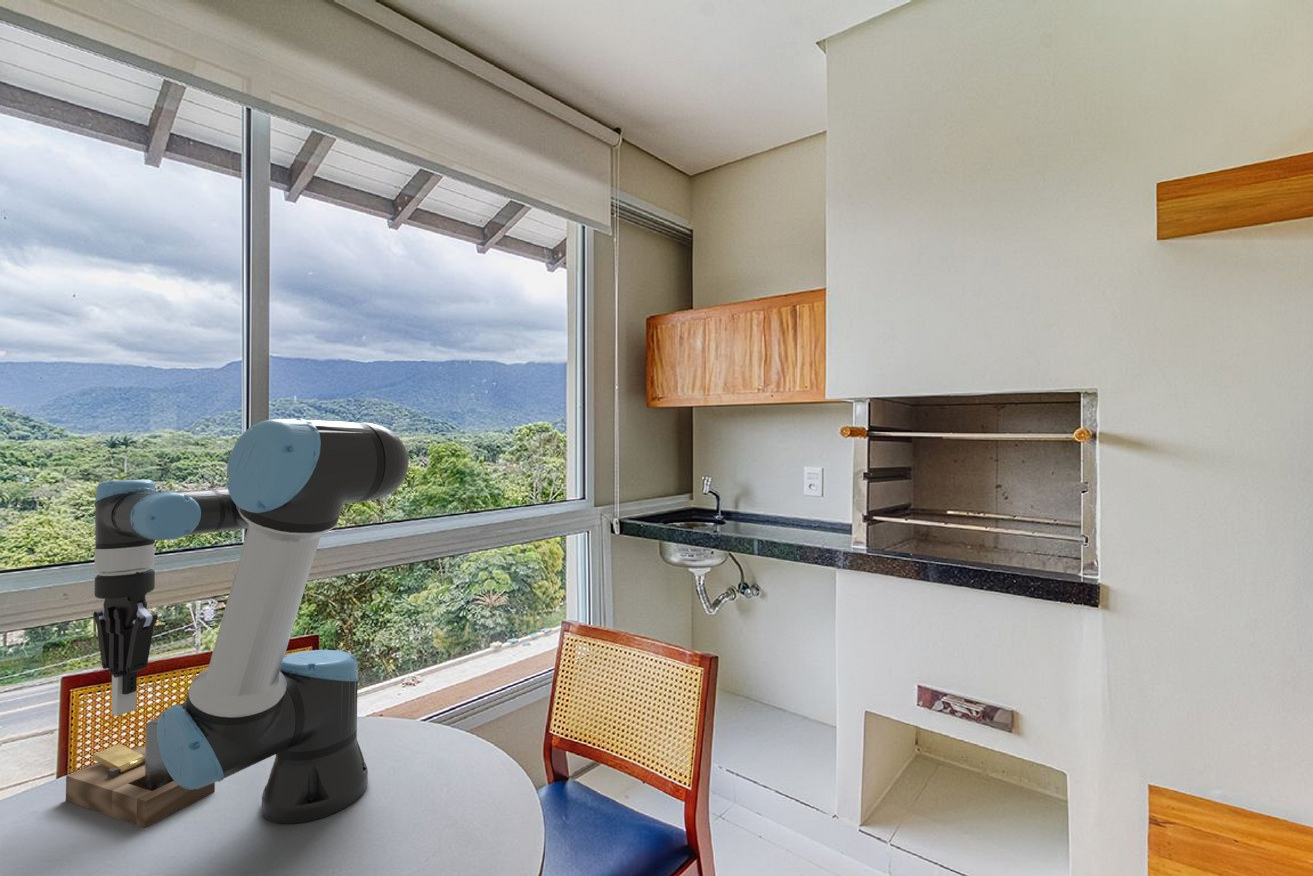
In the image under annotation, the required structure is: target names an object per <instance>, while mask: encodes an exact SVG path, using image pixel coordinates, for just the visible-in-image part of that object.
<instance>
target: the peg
mask: <svg viewBox="0 0 1313 876" xmlns="http://www.w3.org/2000/svg"><path fill="white" fill-rule="evenodd" d="M159 718H160V717H157V718H154V719H151V720H150V721H148V722H147V723H146V724H145V748H146V751H145V789H147V790H150V791H154V790H156V789H158V788H160V787H162V786H164V785H166V784H168V783H170V782H172V781H174V780H173V779H172V777H171V776H170V774H169V773H168V771H167V769H166V767H165V765H164V763H163V760H162V757H161V754H160V750H159V746H158V740H157V725H158V720H159Z"/></svg>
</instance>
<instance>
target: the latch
mask: <svg viewBox="0 0 1313 876" xmlns="http://www.w3.org/2000/svg"><path fill="white" fill-rule="evenodd" d="M131 749H132V748H129V747H128V746H125V745H123V744H121V743H118V744H115V745H113V746H111V747H108V748H106V749H103V750H100V751H98V752H95V753H93V761H95V762H96V763H100V764H102V765H104V766H106V767H108V768H110V769H111V768H118V769H119V770H118V773H119V774H120V773H122V772H125V771H127V770H129V769H131V768H134V767H136V766H138V765H141V764H143V763H145V756H143V755H141V754H139V753H137V752H135V751H133V750H131Z"/></svg>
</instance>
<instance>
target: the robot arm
mask: <svg viewBox="0 0 1313 876" xmlns="http://www.w3.org/2000/svg"><path fill="white" fill-rule="evenodd" d="M409 462H410V461H409V454H408V452H407V448H406V446H405V445H404V443H403V442H402V440H401V439H400V438H399V437H398V436H397V435H396V434H395V433H394V432H393V431H392V430H389V429H388V428H386V427H384V426H382V425H378V424H376V423H372V422H370V423H369V422H363V421H362V422H359V421H358V422H353V421H333V420H317V419H316V420H315V419H314V420H312V419H304V418H300V417H293V418H292V417H291V418H290V417H289V418H285V419H281V418H279V419H278V418H277V419H273V418H272V419H266V420H262V421H260V422H258V423H256V424H254V425H252V426H250V427H248V429H246V430H245V431H244V432H243V433H241V435H240V436H239V438H238V439H237V440H236V443H235V444H234V446H233V448H232V450H231V452H230V455H229V457H228V462H227V467H226V476H227V477H228V478H229V479H228V481H227V483H226V485H227V488H219V489H218V488H217V489H198V490H197V489H194V490H177V491H173V490H172V491H158V492H157V491H156V484H155V482H154V481H153V480H151V479H121V480H120V479H117V480H116V479H115V480H104V481H102V482H99V483H98V485H97V486H96V492H95V499H94V502H93V505H94V507H95V508H94V511H95V513H94V516H95V518H94V519H95V520H94V522H95V525H94V526H95V527H94V529H95V531H94V532H95V534H94V536H95V537H94V539H95V541H94V542H95V543H94V544H95V545H94V546H95V547H94V572H95V573H98V574H97V575H96V576H95V577H94V597H95V598H97V599H100V600H101V599H102V600H104V601H103V604H102V605H103V608H102V609H101V610H96V611H94V612H92V613H93V614H92V616H93V620H94V622H95V625H96V630H97V639H98V645H99V652H100V653H99V654H100V659H101V660H100V662H101V667H102V669H103V670H108V673H109V675H111V716H114V717H119V716H121V715H124V714H127V713H130V712H133V711H135V710H137V700H138V698H137V694H138V693H137V690H138V688H137V686H138V685H137V684H138V683H137V682H138V678H137V677H138V676H137V675H138V672H139V671H142V670H143V669H144V670H145V669H146V668H147V667H148V663H149V662H148V661H149V656H150V649H151V645H152V639H153V633H154V628H155V625H156V623H157V621H158V613H156V612H153V613H150V612H149V611H148V609H147V608H148V602H147V599H146V595H147V594H148V593H151V592H152V591H154V590H155V589H156V588H155V587H156V586H155V585H156V583H155V577H156V574H155V573H156V572H155V570H154V569H153V568H152V567H153V566H155V552H157V548H156V547H155V543H156V541H160V542H161V541H167V540H176V539H181V538H183V537H185V536H192V535H193V536H194V535H201V534H202V535H203V534H211V533H216V532H225V531H236V530H245V529H246V533H245V535H244V540H243V544H242V548H241V551H240V554H239V558H238V562H237V565H236V568H235V572H234V575H233V580H232V583H231V586H230V590H229V593H228V597H227V599H226V600H227V601H226V604H225V606H224V607H225V608H224V610H223V614H222V618H221V622H220V625H219V629H218V632H217V636H216V640H215V644H214V647H213V650H212V654H211V656H210V660H209V665H208V668H206V669H204V670H203V671H201V672H199V674H197V676H195V677H194V678H193V680H192V681H191V683H190V685H189V687H188V691H187V695H186V698H185V701H184V702H183V703H181V704H173V705H171V707H169V708H167V709H165V710H164V711H162V713H160V716H159V717H158V718H159V720H158V725H157V740H158V746H159V750H160V754H161V757H162V760H163V763H164V765H165V767H166V769H167V771H168V773H169V774H170V776H171V777H172V779H173V780H174V781H175V782H176V783H177V784H178V785H179V786H181V787H183V788H185V789H190V790H193V789H199V788H202V787H204V786H207V785H209V784H212V783H214V782H215V783H217V782H218V783H220V782H221V781H223V780H225V779H226V778H228V777H231V776H232V775H233V776H234V774H237V773H239V772H241V771H244V770H245V769H247V768H249V767H252V766H254V765H256V764H258V763H260V762H263V761H265V760H267V759H270V758H271V757H273V756H275V757H274V761H273V765H272V767H271V769H270V774H269V777H268V780H267V783H266V785H265V787H264V789H263V792H262V795H261V813H262V816H263V817H264V818H266V820H268V821H271V822H273V823H279V824H297V823H299V824H300V823H307V822H311V821H315V820H318V819H321V818H324V817H329V816H330V815H333V814H335V813H337V812H339V811H341V810H344V809H345V808H347V807H348V806H350V805H351V804H353V803H354V802H356V801H357V800H358V799H359V798H361V796H362V795H363V794H364V792H365V791H366V789H367V788H368V783H369V779H368V778H369V773H368V772H369V771H368V766H367V764H366V761H365V758H364V755H363V752H362V749H361V747H360V744H359V741H358V733H357V732H358V686H359V685H358V682H359V680H360V677H359V673H358V672H359V671H358V670H359V669H358V660H357V659H356V657H355V655H353V654H351V653H349V652H346V651H343V650H337V649H336V650H334V649H314V650H302V651H298V652H293V653H288V654H286V652H287V649H288V645H289V642H290V639H291V635H292V632H293V629H294V626H295V622H296V620H297V619H296V618H297V614H298V612H299V608H300V606H301V602H302V599H303V596H304V592H305V589H306V585H307V582H308V579H309V576H310V573H311V569H312V566H313V563H314V560H315V556H316V553H317V550H318V547H319V543H320V540H321V537H322V535H323V534H326V533H327V532H330V531H331V530H333V529H334V528H335V527H336V526H337V524H338V522H339V518H340V515H341V513H342V509H343V506H344V505H347V504H354V503H362V502H363V503H364V502H369V501H374V500H379V499H382V498H385V497H387V496H388V495H390V494H392V493H394V492H395V491H396V490H397V489H399V488H400V486H401V485H402V484H403V482H404V481H405V479H406V476H407V474H408V470H409V465H410V463H409Z"/></svg>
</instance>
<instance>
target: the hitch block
mask: <svg viewBox="0 0 1313 876" xmlns="http://www.w3.org/2000/svg"><path fill="white" fill-rule="evenodd" d="M130 749H131V750H133V751H135V752H137V753H139V754H141V755H143V756H145V751H146V747H143V746H140V745H138V746H136V747H134V748H133V747H132V748H130ZM118 770H119V769H118V768H111V769H110V768H108V767H106V766H104V765H102V764H100V763H99V762H96V763H94V764H92V765H88V766H87V767H83V768H82V769H79V770H77V771H75V772H72V773H70V774H67V775H65V776H66V778H65V802H69V803H72V804H73V805H74V804H75V805H77V806H80V807H83V808H86V809H89V810H92V811H95V812H98V813H101V814H104V815H106V816H110V817H111V818H115V819H118V820H120V821H123V822H126V823H129V824H132V825H134V826H138V827H141V828H148V827H149V826H152V825H153V824H156V823H157V822H159V821H161V820H163V819H165V818H167V817H169V816H170V815H172V814H174V813H176V812H178V811H180V810H182V809H183V808H185V807H188V806H190V805H192V804H194V803H195V802H197V801H199V800H201V799H203V798H205V797H206V796H209V795H210V794H213V793H214V792H215V791H216V782H214V783H212V784H209V785H207V786H204V787H202V788H199V789H193V790H190V789H185V788H183V787H181V786H179V785H178V784H177V783H176V782H175V781H172V782H170V783H168V784H166V785H164V786H162V787H160V788H158V789H156V790H154V791H150V790H147V789H145V763H143V764H141V765H138V766H136V767H134V768H131V769H129V770H127V771H125V772H122V773H120V774H119V773H118Z"/></svg>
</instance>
